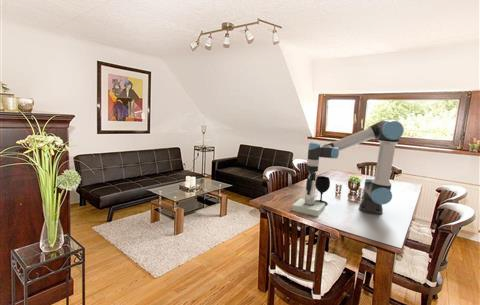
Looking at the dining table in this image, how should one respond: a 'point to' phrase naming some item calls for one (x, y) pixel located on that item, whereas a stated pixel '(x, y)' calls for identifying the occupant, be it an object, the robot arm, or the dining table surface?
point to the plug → (311, 194)
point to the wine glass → (322, 186)
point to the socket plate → (308, 207)
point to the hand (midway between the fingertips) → (309, 197)
